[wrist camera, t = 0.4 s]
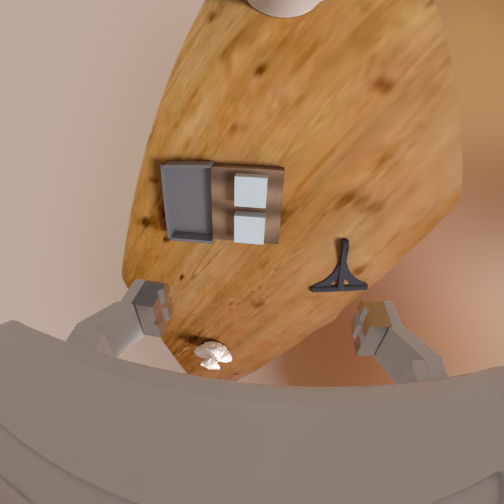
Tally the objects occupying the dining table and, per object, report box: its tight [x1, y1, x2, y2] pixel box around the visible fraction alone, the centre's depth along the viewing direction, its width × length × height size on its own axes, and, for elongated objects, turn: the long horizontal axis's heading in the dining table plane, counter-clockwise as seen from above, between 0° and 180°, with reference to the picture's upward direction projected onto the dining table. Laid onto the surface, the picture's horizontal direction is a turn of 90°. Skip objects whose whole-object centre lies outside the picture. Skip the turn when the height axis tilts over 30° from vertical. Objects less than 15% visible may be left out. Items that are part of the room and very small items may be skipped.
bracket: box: [312, 239, 368, 292], centre depth 62 cm, size 14×15×3 cm
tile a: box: [234, 173, 268, 208], centre depth 51 cm, size 6×6×2 cm
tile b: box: [234, 211, 266, 245], centre depth 55 cm, size 6×6×2 cm
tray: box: [160, 161, 214, 244], centre depth 56 cm, size 17×10×4 cm, turn 178°
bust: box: [194, 341, 232, 370], centre depth 79 cm, size 12×8×11 cm
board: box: [211, 164, 284, 244], centre depth 55 cm, size 16×14×2 cm
